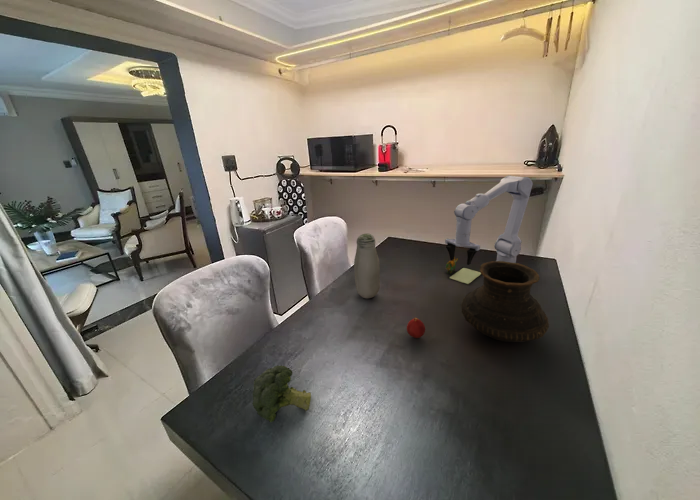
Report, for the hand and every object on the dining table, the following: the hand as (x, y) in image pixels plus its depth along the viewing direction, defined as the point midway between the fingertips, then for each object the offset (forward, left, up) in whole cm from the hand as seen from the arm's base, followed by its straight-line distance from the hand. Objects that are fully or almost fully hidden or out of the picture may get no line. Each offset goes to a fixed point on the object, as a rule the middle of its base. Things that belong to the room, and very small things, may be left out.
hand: (460, 261), depth 116 cm
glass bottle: (+36, -22, -10) cm, 43 cm away
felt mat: (-7, 0, -10) cm, 12 cm away
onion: (+44, +8, -10) cm, 46 cm away
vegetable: (+88, -1, -10) cm, 89 cm away
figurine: (-7, -7, -10) cm, 14 cm away
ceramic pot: (+23, +26, -10) cm, 36 cm away
